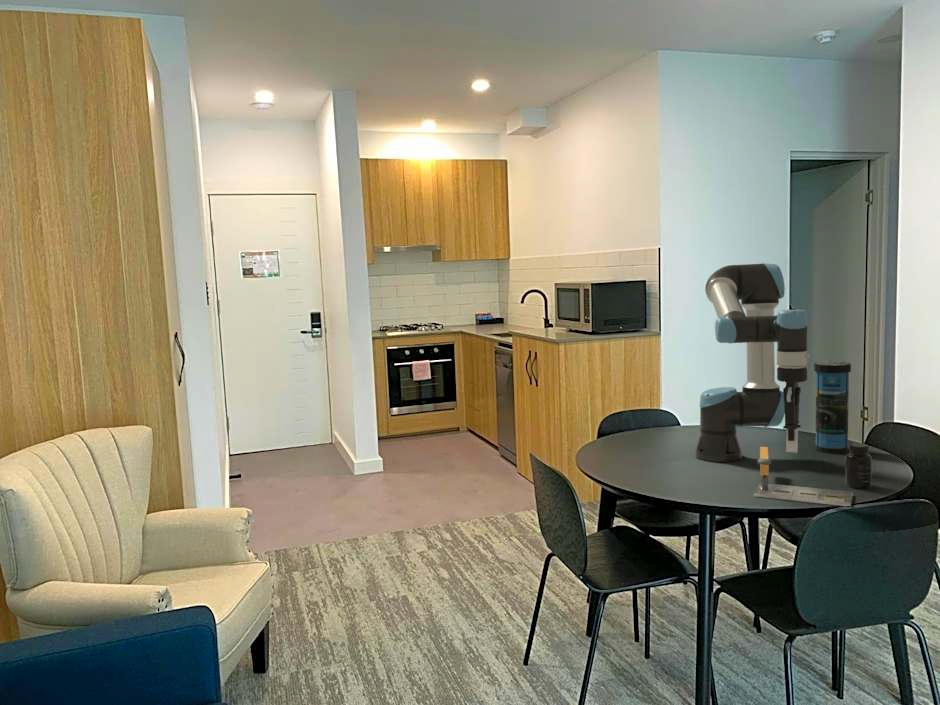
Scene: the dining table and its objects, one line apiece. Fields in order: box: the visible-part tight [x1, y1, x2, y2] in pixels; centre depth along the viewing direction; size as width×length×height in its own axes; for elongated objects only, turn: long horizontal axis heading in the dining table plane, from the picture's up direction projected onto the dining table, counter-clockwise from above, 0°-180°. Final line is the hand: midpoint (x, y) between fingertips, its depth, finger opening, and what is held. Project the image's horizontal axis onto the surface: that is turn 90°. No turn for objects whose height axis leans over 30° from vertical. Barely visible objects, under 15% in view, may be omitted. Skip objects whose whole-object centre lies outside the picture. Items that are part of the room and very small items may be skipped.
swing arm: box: [757, 446, 772, 476], centre depth 217 cm, size 22×4×4 cm, turn 159°
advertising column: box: [813, 361, 852, 454], centre depth 252 cm, size 11×11×30 cm
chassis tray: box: [753, 475, 854, 507], centre depth 204 cm, size 24×11×5 cm, turn 60°
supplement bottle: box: [844, 442, 873, 490], centre depth 211 cm, size 7×7×12 cm
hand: (791, 451), depth 202 cm, fingers closed
